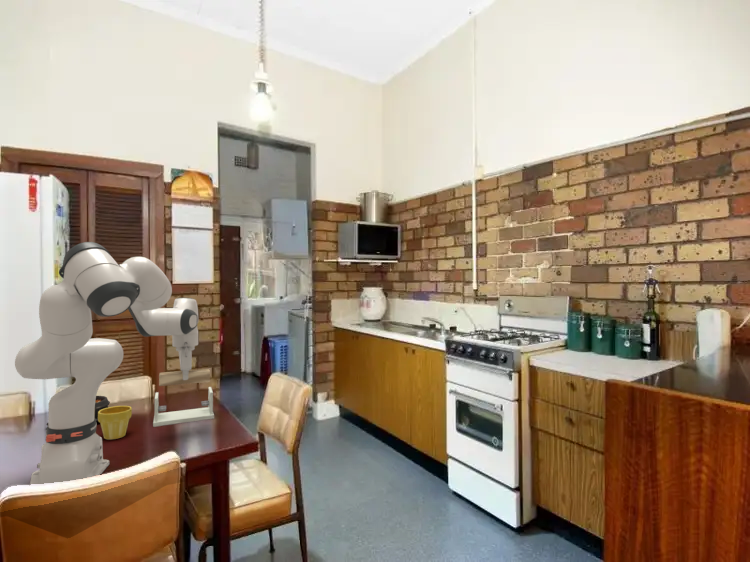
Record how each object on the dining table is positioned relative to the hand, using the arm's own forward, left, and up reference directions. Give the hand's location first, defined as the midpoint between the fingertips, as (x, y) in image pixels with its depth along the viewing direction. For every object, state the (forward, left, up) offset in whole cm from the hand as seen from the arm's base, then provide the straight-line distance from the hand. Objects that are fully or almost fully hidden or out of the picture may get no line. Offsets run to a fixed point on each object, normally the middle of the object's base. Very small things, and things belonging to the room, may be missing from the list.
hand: (185, 378), depth 152 cm
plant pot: (+7, +23, -21) cm, 32 cm away
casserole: (+31, +36, -21) cm, 52 cm away
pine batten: (0, 0, -2) cm, 2 cm away
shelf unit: (+18, 0, -20) cm, 27 cm away
